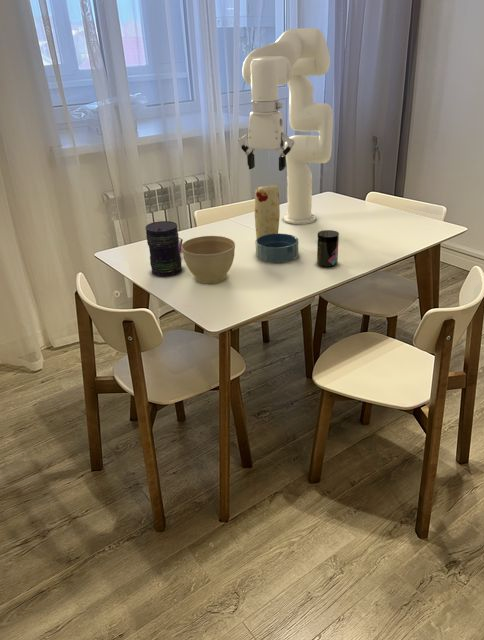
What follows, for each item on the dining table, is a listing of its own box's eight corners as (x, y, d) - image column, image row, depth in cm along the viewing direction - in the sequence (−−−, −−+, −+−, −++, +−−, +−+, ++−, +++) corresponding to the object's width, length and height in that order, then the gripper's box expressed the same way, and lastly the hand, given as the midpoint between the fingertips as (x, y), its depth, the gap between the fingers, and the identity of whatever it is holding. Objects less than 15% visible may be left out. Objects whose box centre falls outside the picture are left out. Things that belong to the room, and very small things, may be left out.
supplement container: (325, 270, 169) (326, 238, 164) (312, 264, 174) (312, 233, 169) (342, 265, 172) (343, 234, 167) (328, 259, 177) (329, 228, 172)
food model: (261, 246, 189) (260, 189, 179) (251, 241, 194) (248, 185, 184) (284, 240, 194) (283, 184, 184) (273, 235, 199) (272, 180, 188)
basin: (264, 247, 189) (264, 231, 186) (303, 250, 185) (303, 235, 182) (250, 261, 178) (249, 245, 175) (291, 266, 173) (291, 249, 170)
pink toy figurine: (167, 232, 185) (179, 239, 179) (180, 234, 188) (193, 240, 182) (163, 251, 187) (176, 258, 181) (176, 252, 191) (189, 259, 184)
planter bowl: (194, 292, 158) (190, 257, 152) (179, 273, 171) (175, 240, 165) (244, 282, 163) (243, 248, 158) (226, 264, 176) (224, 232, 170)
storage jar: (155, 265, 177) (148, 221, 169) (184, 265, 177) (179, 220, 169) (148, 277, 169) (141, 231, 161) (179, 277, 168) (174, 231, 160)
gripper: (298, 106, 154) (297, 168, 162) (242, 105, 159) (244, 165, 168) (289, 109, 148) (289, 173, 156) (232, 108, 153) (235, 170, 162)
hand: (266, 169), depth 162 cm, fingers open, 9 cm apart
